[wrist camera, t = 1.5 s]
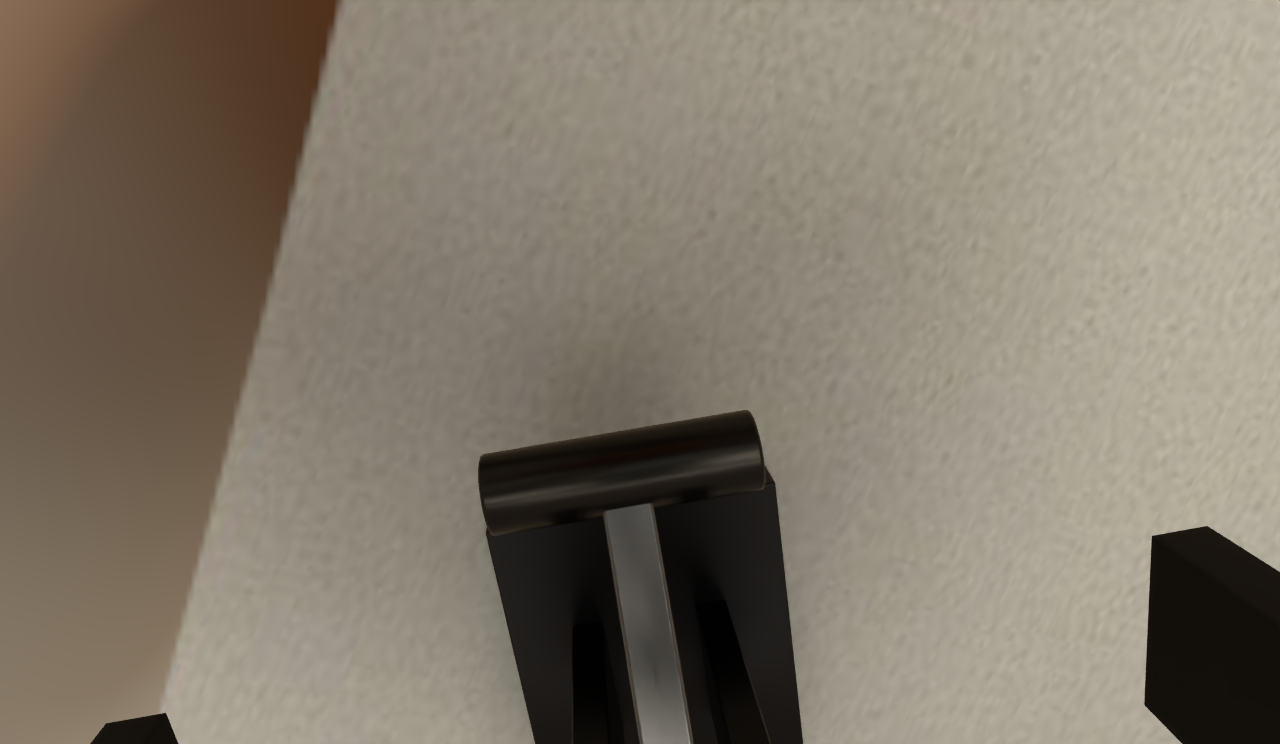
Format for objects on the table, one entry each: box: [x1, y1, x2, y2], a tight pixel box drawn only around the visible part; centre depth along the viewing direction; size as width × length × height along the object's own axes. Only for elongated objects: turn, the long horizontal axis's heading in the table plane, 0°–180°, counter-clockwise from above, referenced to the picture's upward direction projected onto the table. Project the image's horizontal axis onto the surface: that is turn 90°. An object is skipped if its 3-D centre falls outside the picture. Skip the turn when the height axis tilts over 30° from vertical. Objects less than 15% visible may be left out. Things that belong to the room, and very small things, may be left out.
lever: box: [478, 410, 765, 744], centre depth 17 cm, size 13×6×2 cm, turn 9°
